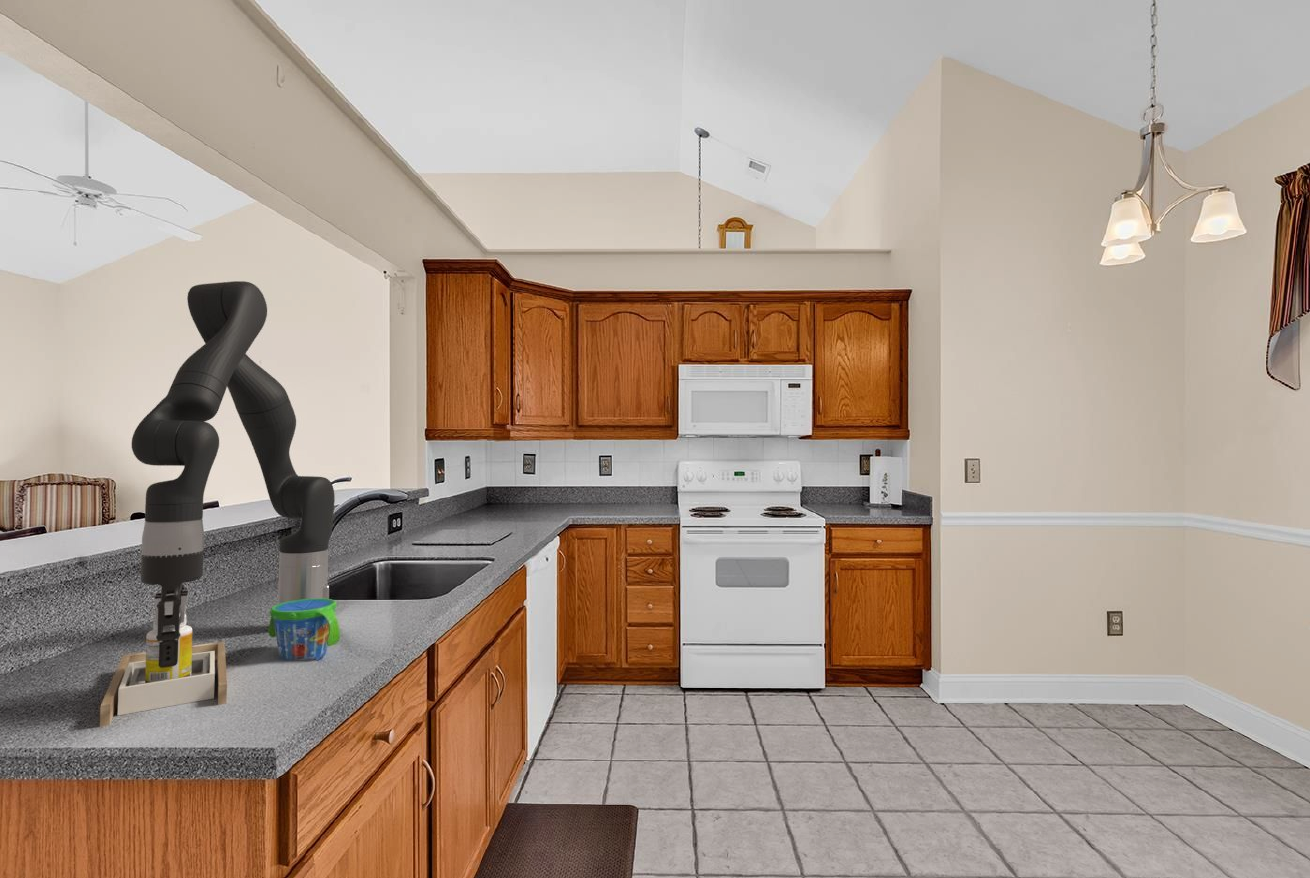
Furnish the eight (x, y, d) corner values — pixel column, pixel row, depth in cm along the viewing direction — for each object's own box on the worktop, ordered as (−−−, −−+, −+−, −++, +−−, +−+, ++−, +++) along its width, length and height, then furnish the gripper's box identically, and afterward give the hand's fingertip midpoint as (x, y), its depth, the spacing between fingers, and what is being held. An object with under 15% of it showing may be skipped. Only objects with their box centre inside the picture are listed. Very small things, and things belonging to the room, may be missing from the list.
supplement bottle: (185, 674, 97) (188, 609, 98) (195, 683, 94) (197, 616, 94) (140, 684, 93) (143, 616, 93) (148, 693, 89) (151, 623, 90)
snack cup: (248, 660, 113) (250, 605, 113) (303, 645, 122) (305, 593, 122) (301, 675, 106) (303, 616, 106) (355, 658, 115) (357, 603, 115)
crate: (213, 672, 103) (214, 650, 103) (213, 698, 92) (214, 673, 92) (128, 686, 96) (128, 662, 97) (117, 715, 86) (118, 689, 86)
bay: (223, 663, 111) (224, 641, 111) (226, 711, 91) (227, 684, 91) (122, 679, 103) (122, 655, 103) (99, 735, 82) (100, 705, 82)
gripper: (202, 554, 90) (198, 669, 90) (204, 542, 102) (201, 644, 101) (136, 558, 86) (131, 680, 85) (146, 545, 98) (142, 652, 97)
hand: (169, 660), depth 93 cm, fingers closed on supplement bottle, 5 cm apart
